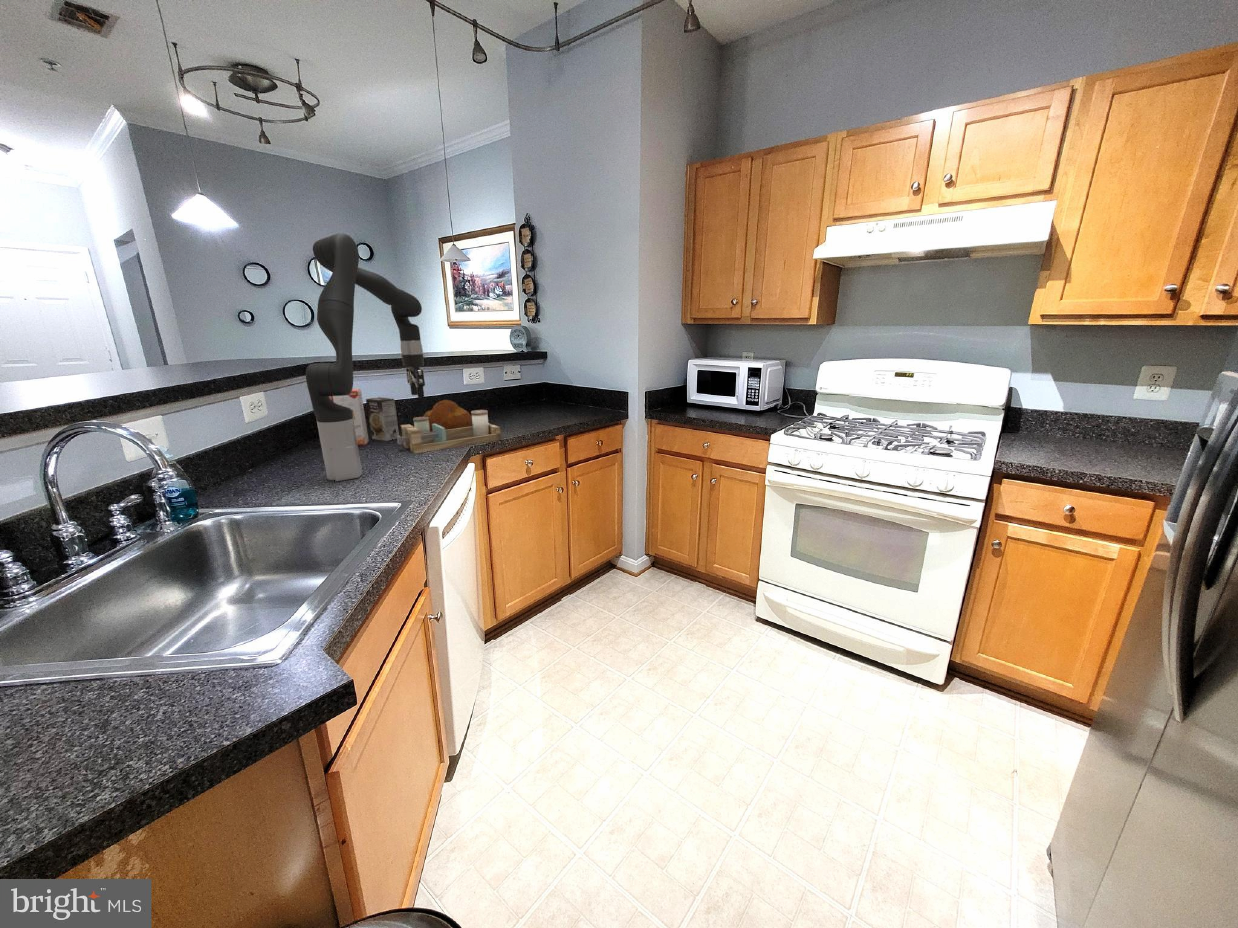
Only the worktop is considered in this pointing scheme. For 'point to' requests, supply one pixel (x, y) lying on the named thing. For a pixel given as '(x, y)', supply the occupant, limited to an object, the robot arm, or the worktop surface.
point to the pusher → (428, 435)
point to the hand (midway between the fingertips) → (417, 396)
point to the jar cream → (480, 422)
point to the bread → (448, 415)
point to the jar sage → (422, 424)
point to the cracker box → (355, 413)
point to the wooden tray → (416, 441)
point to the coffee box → (382, 418)
